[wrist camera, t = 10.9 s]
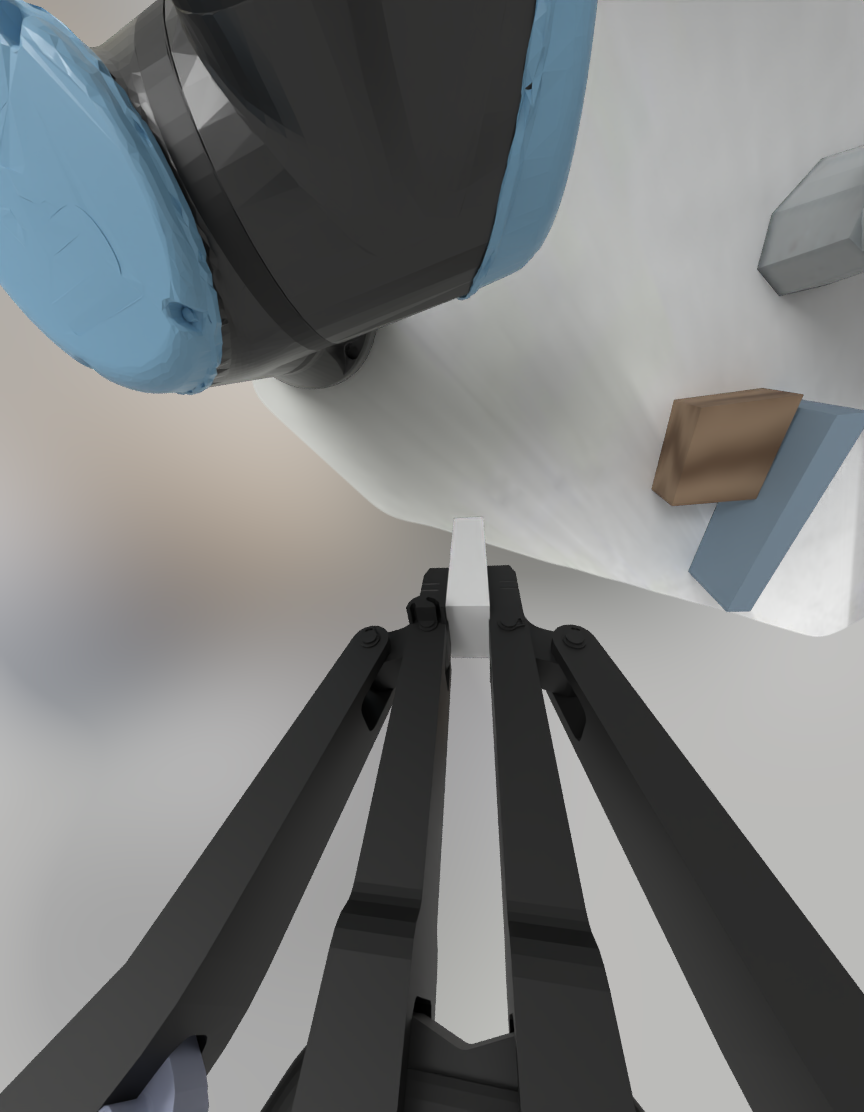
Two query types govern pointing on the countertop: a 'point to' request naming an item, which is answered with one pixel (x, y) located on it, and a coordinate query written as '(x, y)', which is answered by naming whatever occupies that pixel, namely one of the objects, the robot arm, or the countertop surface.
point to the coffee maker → (818, 227)
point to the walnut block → (722, 445)
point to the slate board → (774, 506)
